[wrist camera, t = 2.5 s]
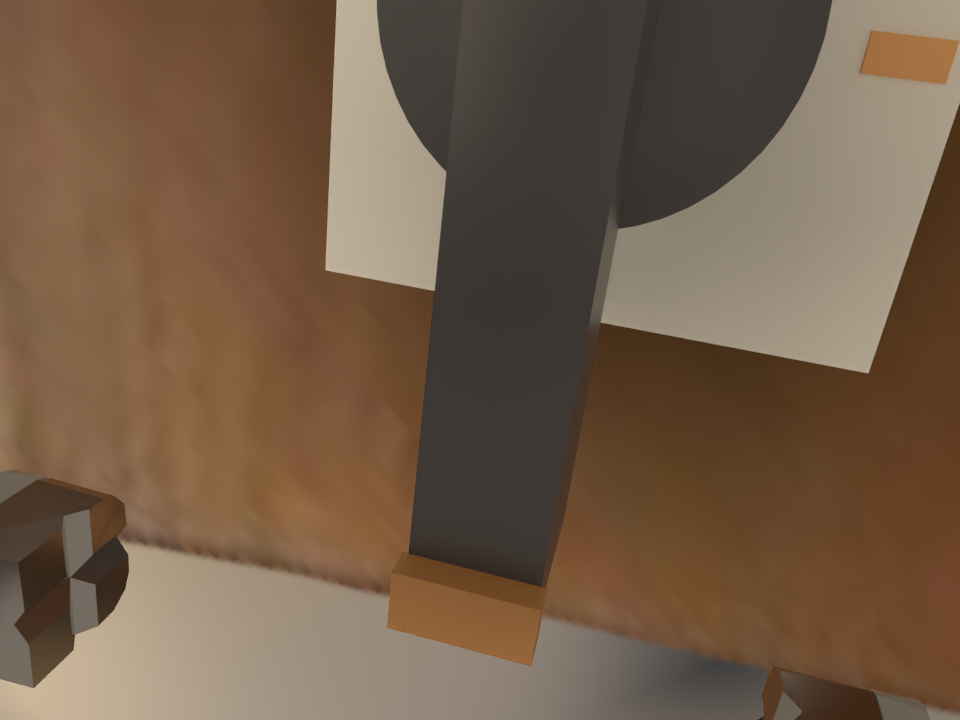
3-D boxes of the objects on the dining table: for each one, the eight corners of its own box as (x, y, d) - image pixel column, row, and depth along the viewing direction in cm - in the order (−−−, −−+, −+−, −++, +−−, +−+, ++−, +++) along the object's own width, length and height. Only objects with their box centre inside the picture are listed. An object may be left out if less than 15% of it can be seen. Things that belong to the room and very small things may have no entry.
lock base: (371, -369, 24) (137, -675, 14) (1090, -340, 21) (1485, -716, 11) (340, 260, 32) (175, 363, 22) (859, 358, 29) (957, 535, 18)
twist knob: (427, -245, 15) (248, -443, 9) (873, -214, 14) (1025, -423, 8) (377, 431, 21) (246, 593, 15) (688, 501, 19) (689, 713, 13)
